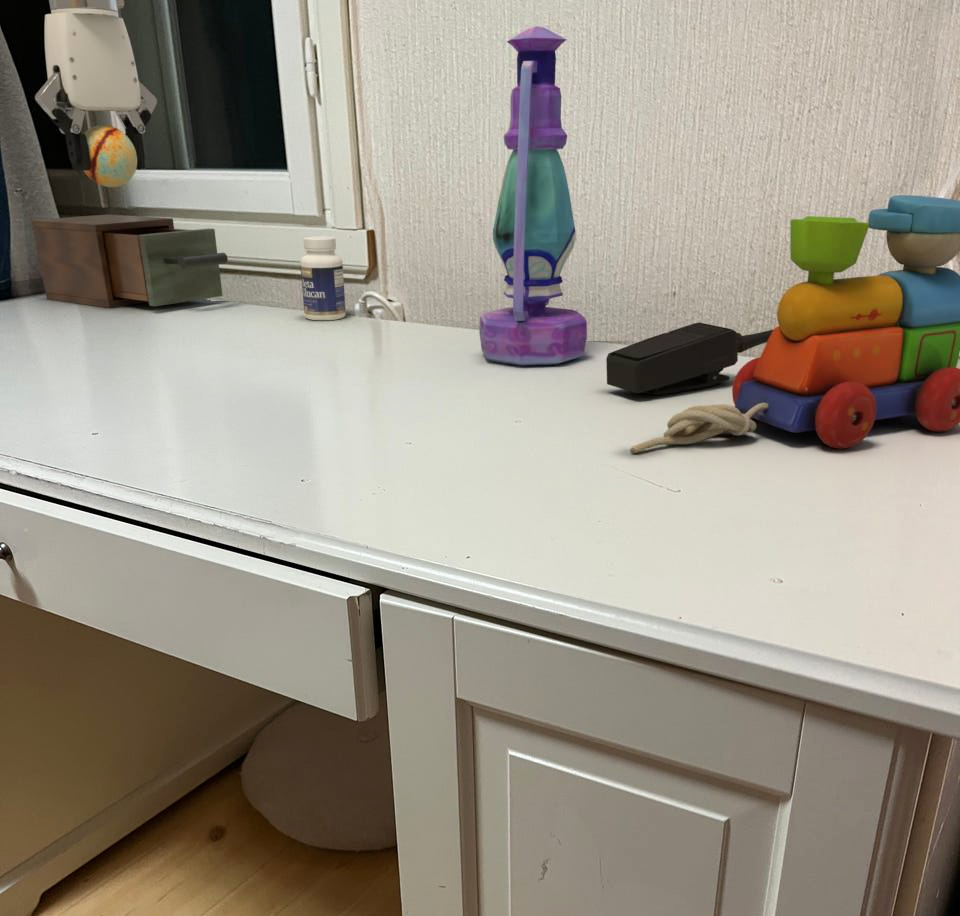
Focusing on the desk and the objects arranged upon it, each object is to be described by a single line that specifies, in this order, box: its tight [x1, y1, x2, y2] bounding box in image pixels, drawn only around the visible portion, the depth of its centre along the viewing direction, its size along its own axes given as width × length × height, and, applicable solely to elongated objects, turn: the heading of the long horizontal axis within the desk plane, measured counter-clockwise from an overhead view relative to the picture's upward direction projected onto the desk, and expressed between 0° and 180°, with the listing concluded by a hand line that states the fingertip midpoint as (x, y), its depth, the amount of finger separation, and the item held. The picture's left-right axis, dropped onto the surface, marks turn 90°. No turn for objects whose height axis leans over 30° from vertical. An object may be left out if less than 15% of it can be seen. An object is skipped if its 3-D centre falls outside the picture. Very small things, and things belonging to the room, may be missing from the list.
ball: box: [83, 124, 137, 188], centre depth 124 cm, size 7×7×7 cm
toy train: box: [629, 194, 960, 454], centre depth 74 cm, size 12×29×17 cm, turn 115°
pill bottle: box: [299, 235, 347, 321], centre depth 127 cm, size 5×5×10 cm
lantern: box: [478, 25, 588, 366], centre depth 98 cm, size 13×12×30 cm
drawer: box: [101, 227, 229, 307], centre depth 137 cm, size 20×12×9 cm, turn 53°
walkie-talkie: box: [605, 322, 774, 396], centre depth 92 cm, size 6×6×20 cm
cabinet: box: [30, 214, 175, 309], centre depth 144 cm, size 16×13×11 cm
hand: (109, 168), depth 124 cm, fingers closed on ball, 7 cm apart
